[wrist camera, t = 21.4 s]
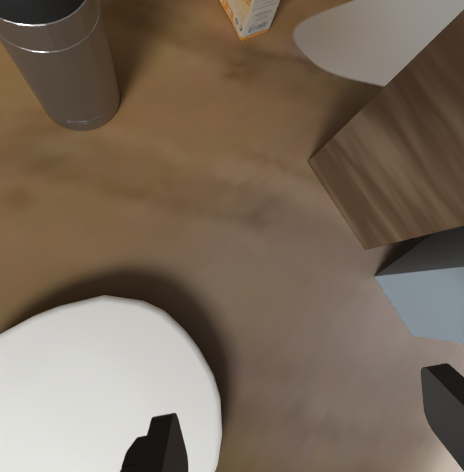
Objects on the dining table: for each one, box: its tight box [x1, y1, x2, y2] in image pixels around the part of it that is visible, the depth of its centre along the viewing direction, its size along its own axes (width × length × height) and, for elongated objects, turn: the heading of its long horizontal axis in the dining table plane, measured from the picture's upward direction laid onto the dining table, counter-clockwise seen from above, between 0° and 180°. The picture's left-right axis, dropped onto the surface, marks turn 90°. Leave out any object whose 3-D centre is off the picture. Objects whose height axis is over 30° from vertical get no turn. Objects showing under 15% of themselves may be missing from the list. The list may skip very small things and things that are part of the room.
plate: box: [0, 295, 222, 472], centre depth 35 cm, size 28×6×27 cm
